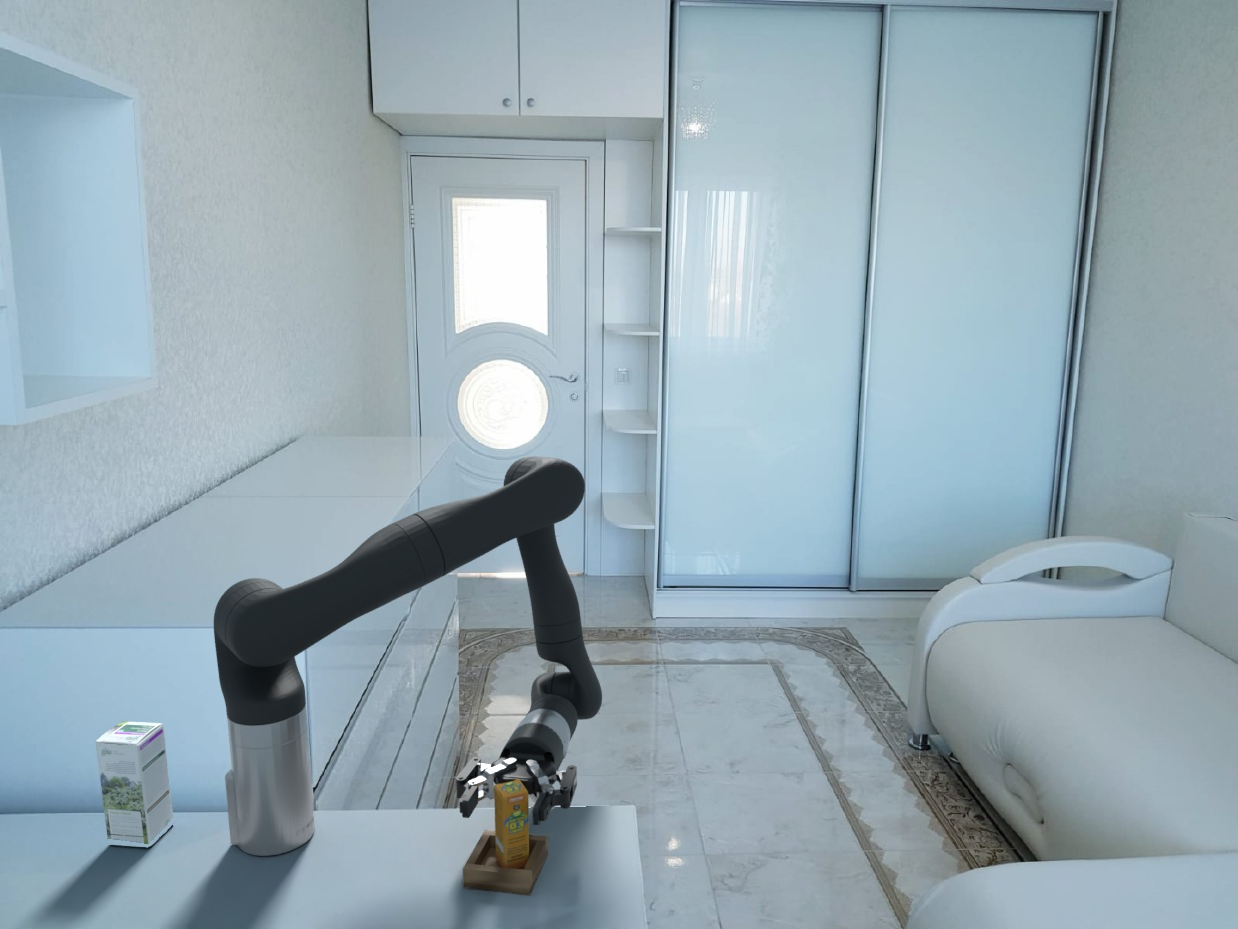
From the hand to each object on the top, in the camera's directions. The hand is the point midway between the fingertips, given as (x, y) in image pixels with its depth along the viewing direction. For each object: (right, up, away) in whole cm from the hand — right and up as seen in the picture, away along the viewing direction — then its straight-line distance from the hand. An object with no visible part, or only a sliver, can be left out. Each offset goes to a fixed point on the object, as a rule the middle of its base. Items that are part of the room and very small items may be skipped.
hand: (500, 814), depth 109 cm
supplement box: (+1, -7, +4) cm, 8 cm away
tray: (0, -8, +3) cm, 9 cm away
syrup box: (-47, -7, +11) cm, 49 cm away
